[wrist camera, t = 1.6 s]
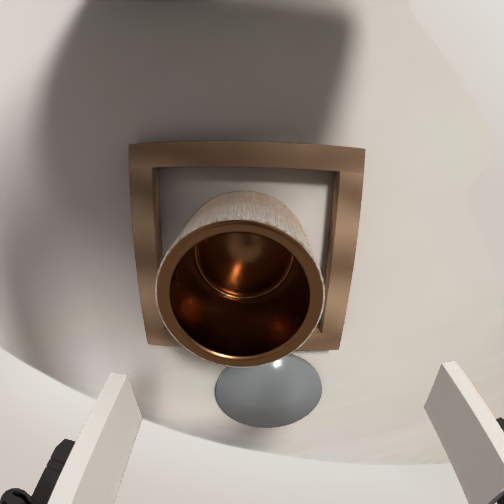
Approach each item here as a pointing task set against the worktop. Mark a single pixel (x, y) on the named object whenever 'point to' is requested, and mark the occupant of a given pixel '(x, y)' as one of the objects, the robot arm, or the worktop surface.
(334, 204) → the holder frame
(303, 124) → the worktop surface
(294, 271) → the planter
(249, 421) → the slate trivet
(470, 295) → the worktop surface
